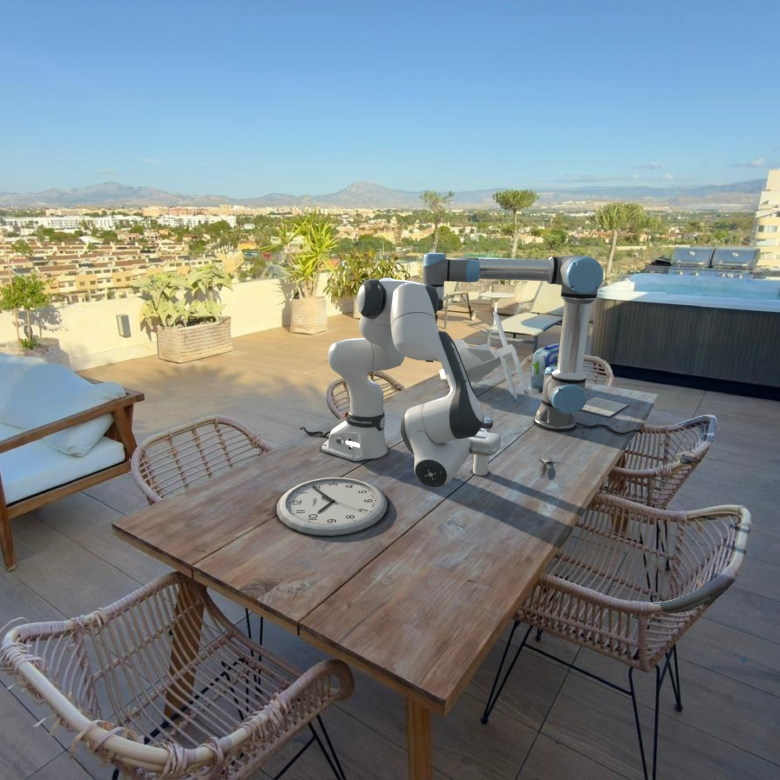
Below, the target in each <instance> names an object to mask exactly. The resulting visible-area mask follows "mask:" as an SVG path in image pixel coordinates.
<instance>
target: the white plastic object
mask: <svg viewBox="0 0 780 780" xmlns="http://www.w3.org/2000/svg"><path fill="white" fill-rule="evenodd" d="M492 315H493V319H494V321H495V324H496V325H495V326H496V328H497V332H498V335H499V338H500V342H501V345H502V347H500V348H498V349H496V350H495V349H493V348H492V347H491V346H490V344H489V343H488V342H487V343H483V344H479V345H473V346H469V345H468V343H466V342H465V340H464V339H463V338H460V339H458V338H454V340H453V341H454V343H455V345H456V347H457V350H458V352H459V354H460V357H461V359H462V362H463V365H464V367H465V370H466V373H467V375H468V378H469V381H470V383H473V384H477V383H480V382H482V381H484V378H485V377H486V376H487V375H489V374H490V373H492V372H494V371H495V370H496V369H497V368H499V367H500V366H502V370H503V373H504V376H505V380H506V383H507V386H508V390H509V393H510V394H511V395H512V397H513V398H514V399H515V400H517V392H516V391H517V390H516V388H515V385H514V381H513V378H512V375H511V371H510V369H509V365H508V361H510V360H513V363H514V366H515V369H516V372H517V376H518V380H519V382H520V385H521V389H522V391H523V393H524V395H525V396H526V397H528V396H531V395H530V390H529V388H528V387H529V386H528V384H527V381H526V378H525V375H524V371H523V369H522V368H523V367H522V366H521V362H520V359H519V355H518V352H517V349H516V347H515V346H514V345H513V343H511V344H508V341H507V337H506V334H505V331H504V328H503V325H502V321H501V318H500V315H499V314H498V312H497V311H496V310H495V311H492ZM438 372H439V376H440V381H442V383H443V384H444V385H445V386H449V384H448V381H447V378H446V375H445V372H444V370H443V368H442V369H440V370H439V371H438Z"/></svg>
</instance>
